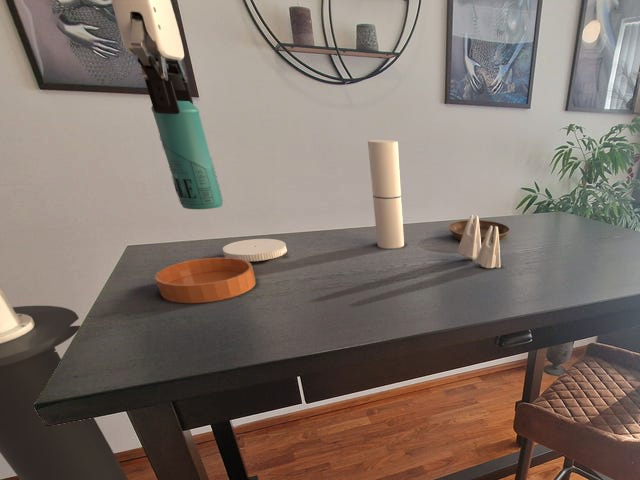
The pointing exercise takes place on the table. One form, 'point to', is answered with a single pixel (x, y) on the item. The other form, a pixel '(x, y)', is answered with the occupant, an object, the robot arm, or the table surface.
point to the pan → (205, 280)
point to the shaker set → (473, 248)
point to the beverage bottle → (188, 154)
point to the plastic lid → (255, 249)
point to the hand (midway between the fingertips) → (175, 111)
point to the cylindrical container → (386, 192)
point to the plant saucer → (484, 226)
